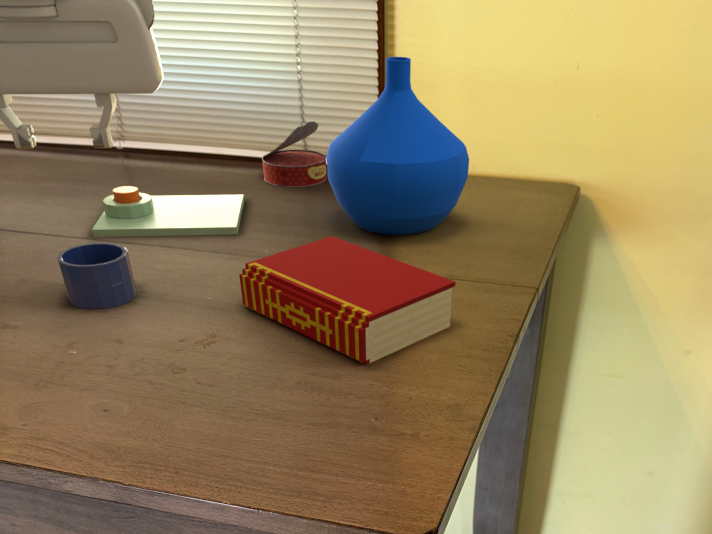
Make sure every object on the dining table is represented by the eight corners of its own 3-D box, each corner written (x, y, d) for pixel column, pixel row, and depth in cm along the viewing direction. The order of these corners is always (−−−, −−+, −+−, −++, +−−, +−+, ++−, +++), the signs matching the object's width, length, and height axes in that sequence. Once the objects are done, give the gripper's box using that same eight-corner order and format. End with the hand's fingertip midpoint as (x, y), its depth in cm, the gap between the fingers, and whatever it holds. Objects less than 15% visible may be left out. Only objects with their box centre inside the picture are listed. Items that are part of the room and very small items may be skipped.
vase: (366, 257, 92) (362, 77, 80) (308, 215, 105) (297, 52, 92) (491, 235, 99) (505, 65, 87) (423, 197, 111) (427, 43, 99)
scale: (94, 241, 96) (88, 216, 94) (115, 206, 106) (110, 184, 104) (238, 238, 97) (234, 213, 95) (244, 204, 108) (242, 182, 106)
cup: (63, 314, 79) (49, 267, 75) (78, 288, 84) (66, 243, 81) (131, 312, 79) (120, 265, 76) (142, 287, 85) (132, 241, 81)
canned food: (288, 219, 117) (253, 161, 109) (271, 193, 124) (238, 137, 116) (349, 178, 116) (319, 117, 109) (329, 154, 123) (299, 95, 115)
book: (244, 312, 80) (238, 265, 76) (333, 280, 87) (331, 236, 83) (362, 371, 70) (361, 320, 67) (452, 329, 77) (455, 281, 74)
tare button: (113, 205, 98) (110, 193, 97) (117, 198, 101) (115, 186, 100) (138, 205, 98) (135, 192, 97) (142, 198, 101) (139, 185, 100)
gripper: (152, -37, 66) (180, 138, 75) (-92, -39, 64) (-34, 140, 73) (140, -32, 61) (172, 154, 70) (-124, -34, 60) (-57, 157, 69)
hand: (65, 147), depth 72 cm, fingers open, 6 cm apart
